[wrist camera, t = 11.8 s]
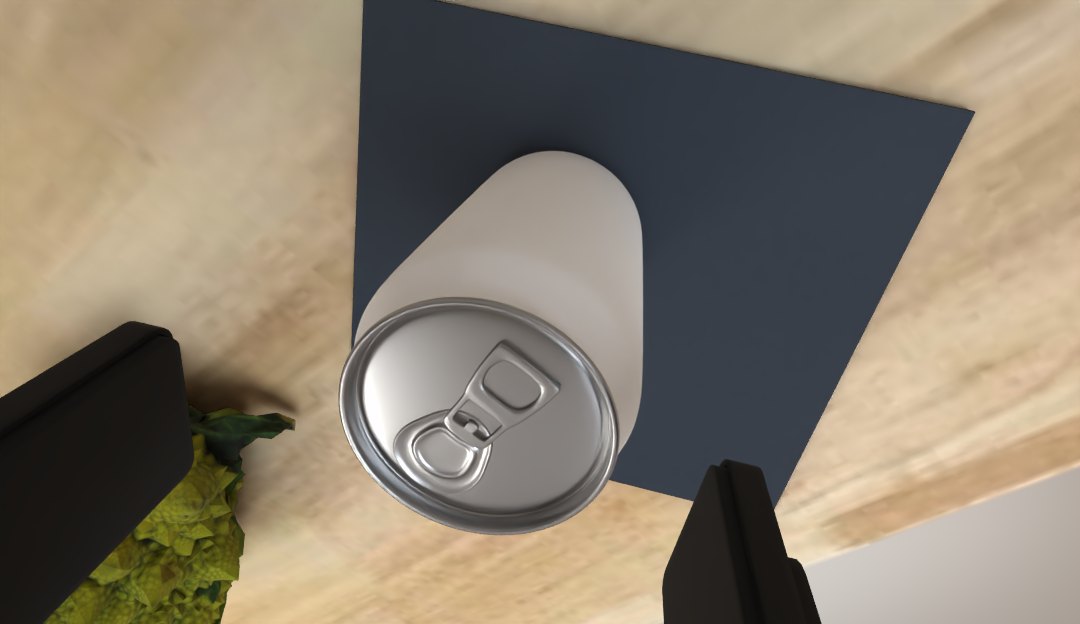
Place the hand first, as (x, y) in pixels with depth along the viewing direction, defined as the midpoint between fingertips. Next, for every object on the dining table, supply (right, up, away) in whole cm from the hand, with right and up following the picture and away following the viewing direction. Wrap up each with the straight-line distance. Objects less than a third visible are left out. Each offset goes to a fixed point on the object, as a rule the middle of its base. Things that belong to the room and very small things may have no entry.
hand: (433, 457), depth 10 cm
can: (+2, +6, +12) cm, 13 cm away
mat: (+4, +3, +13) cm, 14 cm away
